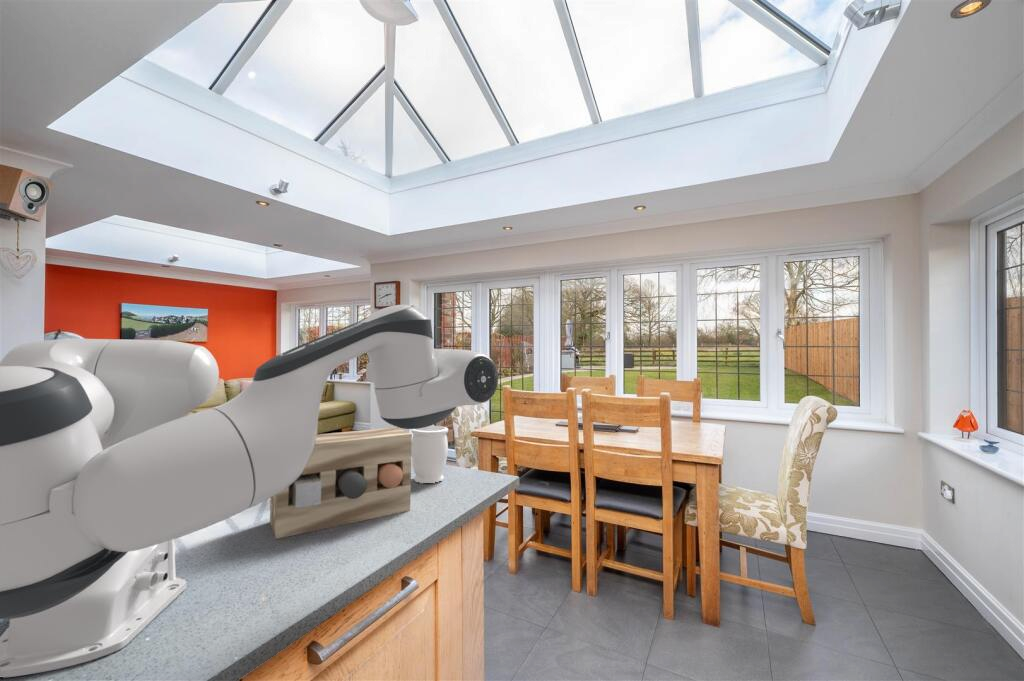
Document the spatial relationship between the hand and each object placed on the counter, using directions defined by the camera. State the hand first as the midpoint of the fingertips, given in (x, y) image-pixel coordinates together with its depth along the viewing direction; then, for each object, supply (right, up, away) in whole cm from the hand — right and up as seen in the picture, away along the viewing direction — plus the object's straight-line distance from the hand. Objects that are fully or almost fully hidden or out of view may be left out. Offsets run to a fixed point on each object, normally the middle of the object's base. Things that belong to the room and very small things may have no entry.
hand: (407, 369), depth 89 cm
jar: (-3, -35, +37) cm, 51 cm away
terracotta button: (-7, -28, +12) cm, 31 cm away
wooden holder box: (-17, -34, +9) cm, 39 cm away
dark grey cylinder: (-13, -27, +4) cm, 31 cm away
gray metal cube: (-20, -27, -1) cm, 34 cm away
